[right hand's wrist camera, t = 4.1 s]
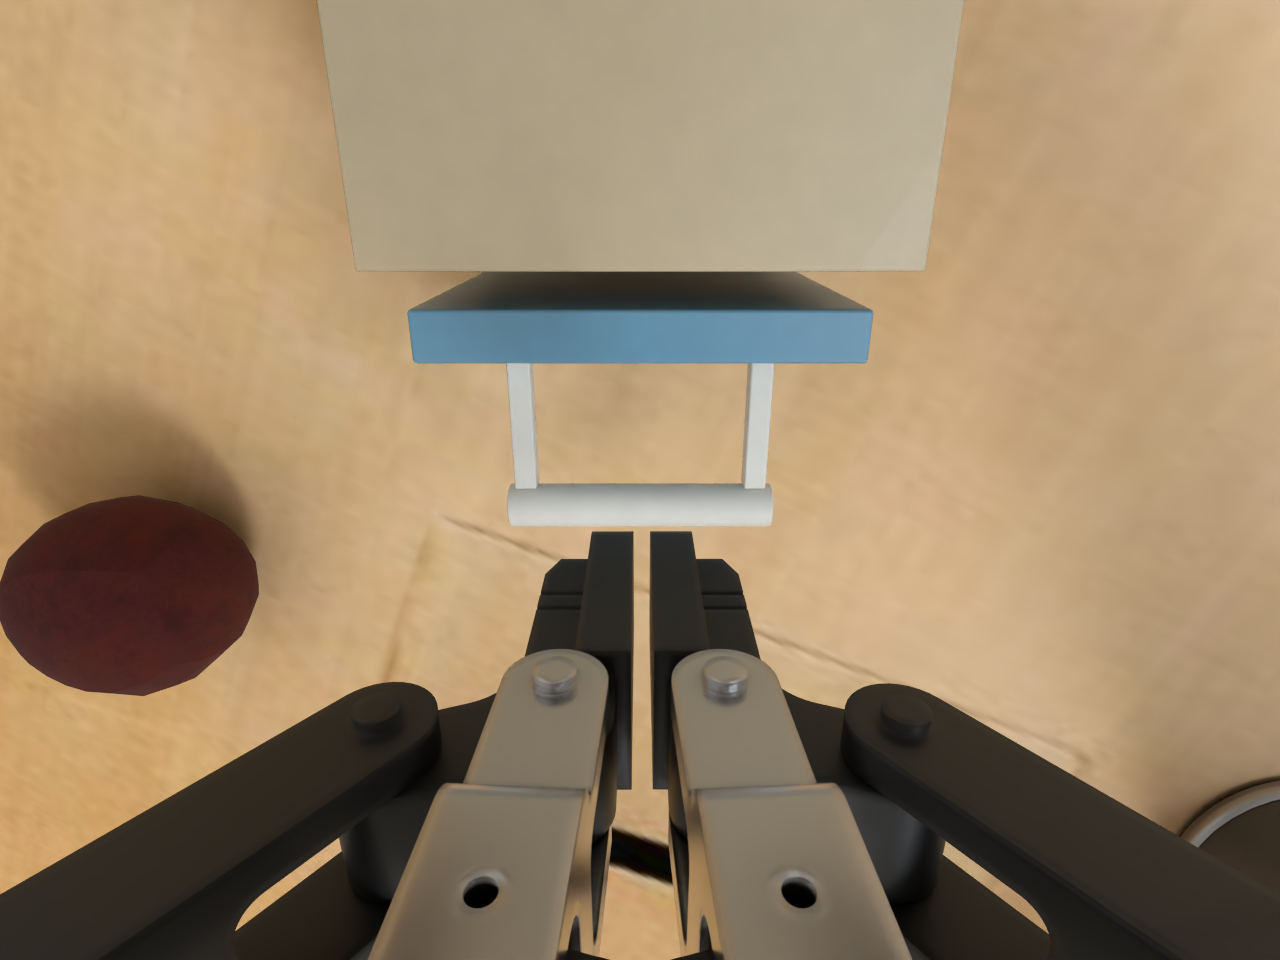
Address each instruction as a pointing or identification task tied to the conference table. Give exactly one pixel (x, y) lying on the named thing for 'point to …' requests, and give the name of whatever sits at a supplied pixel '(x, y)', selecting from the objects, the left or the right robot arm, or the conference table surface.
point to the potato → (127, 595)
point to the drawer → (640, 333)
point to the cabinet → (640, 133)
